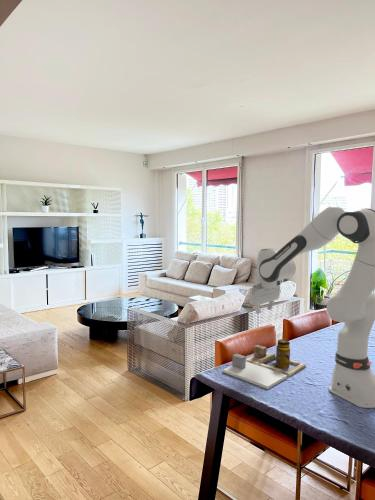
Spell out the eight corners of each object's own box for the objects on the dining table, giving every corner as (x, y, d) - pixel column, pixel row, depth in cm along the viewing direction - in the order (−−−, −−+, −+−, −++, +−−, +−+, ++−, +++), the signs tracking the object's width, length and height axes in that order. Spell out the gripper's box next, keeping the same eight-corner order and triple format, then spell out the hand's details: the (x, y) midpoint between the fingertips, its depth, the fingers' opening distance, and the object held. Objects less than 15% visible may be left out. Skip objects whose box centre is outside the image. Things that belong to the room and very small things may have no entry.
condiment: (292, 369, 171) (293, 343, 170) (274, 370, 170) (275, 343, 169) (286, 363, 178) (287, 338, 177) (268, 363, 177) (269, 338, 176)
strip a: (305, 367, 174) (306, 353, 173) (289, 376, 163) (289, 362, 162) (263, 353, 189) (263, 341, 188) (245, 361, 178) (246, 348, 178)
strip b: (286, 378, 161) (287, 363, 161) (267, 389, 151) (268, 374, 150) (243, 362, 177) (243, 349, 176) (222, 372, 166) (223, 358, 165)
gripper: (258, 286, 169) (256, 317, 171) (283, 281, 183) (281, 309, 185) (246, 284, 173) (245, 313, 175) (271, 278, 188) (270, 306, 189)
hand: (263, 311), depth 180 cm, fingers open, 8 cm apart
